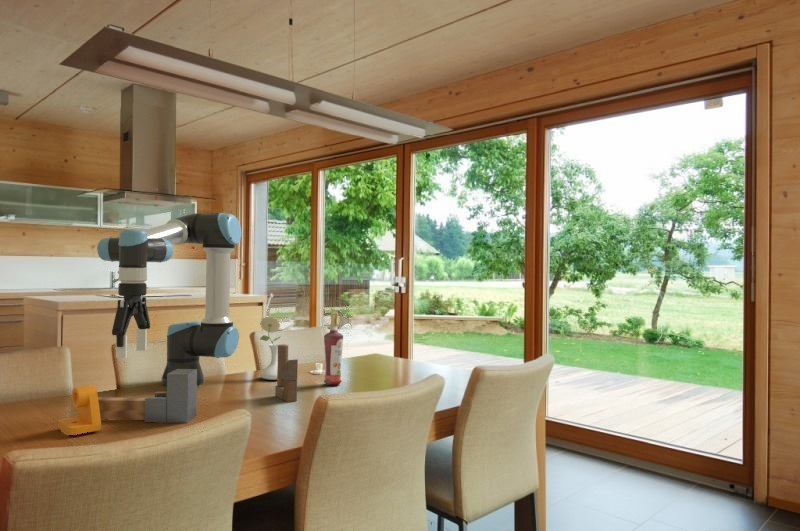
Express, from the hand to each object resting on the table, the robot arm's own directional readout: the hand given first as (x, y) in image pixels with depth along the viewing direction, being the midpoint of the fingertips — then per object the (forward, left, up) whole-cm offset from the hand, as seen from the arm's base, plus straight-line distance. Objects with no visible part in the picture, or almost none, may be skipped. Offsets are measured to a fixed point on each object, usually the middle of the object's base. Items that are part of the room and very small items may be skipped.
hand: (131, 354), depth 169 cm
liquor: (-49, +55, -19) cm, 76 cm away
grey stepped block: (+1, +12, -19) cm, 22 cm away
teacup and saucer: (-73, +44, -20) cm, 88 cm away
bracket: (+14, -8, -19) cm, 25 cm away
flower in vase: (-59, +30, -19) cm, 69 cm away
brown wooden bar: (+1, 0, -19) cm, 19 cm away
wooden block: (-26, +41, -19) cm, 52 cm away
